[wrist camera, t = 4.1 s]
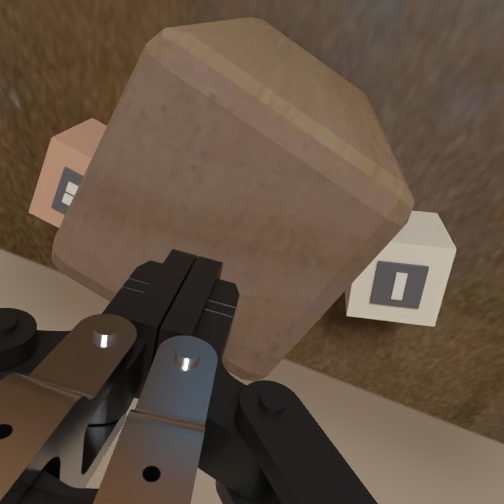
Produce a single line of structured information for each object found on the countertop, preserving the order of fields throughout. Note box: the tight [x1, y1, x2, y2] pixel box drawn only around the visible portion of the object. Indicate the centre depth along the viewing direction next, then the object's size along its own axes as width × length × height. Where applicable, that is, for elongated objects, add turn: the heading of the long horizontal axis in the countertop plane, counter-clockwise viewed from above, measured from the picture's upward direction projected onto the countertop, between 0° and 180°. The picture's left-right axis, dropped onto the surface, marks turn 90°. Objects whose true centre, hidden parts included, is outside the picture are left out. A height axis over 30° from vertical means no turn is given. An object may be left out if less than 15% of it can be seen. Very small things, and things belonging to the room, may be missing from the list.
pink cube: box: [29, 118, 107, 228], centre depth 34 cm, size 6×6×6 cm
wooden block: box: [52, 17, 415, 382], centre depth 25 cm, size 10×10×20 cm
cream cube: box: [345, 211, 456, 327], centre depth 34 cm, size 6×6×6 cm
